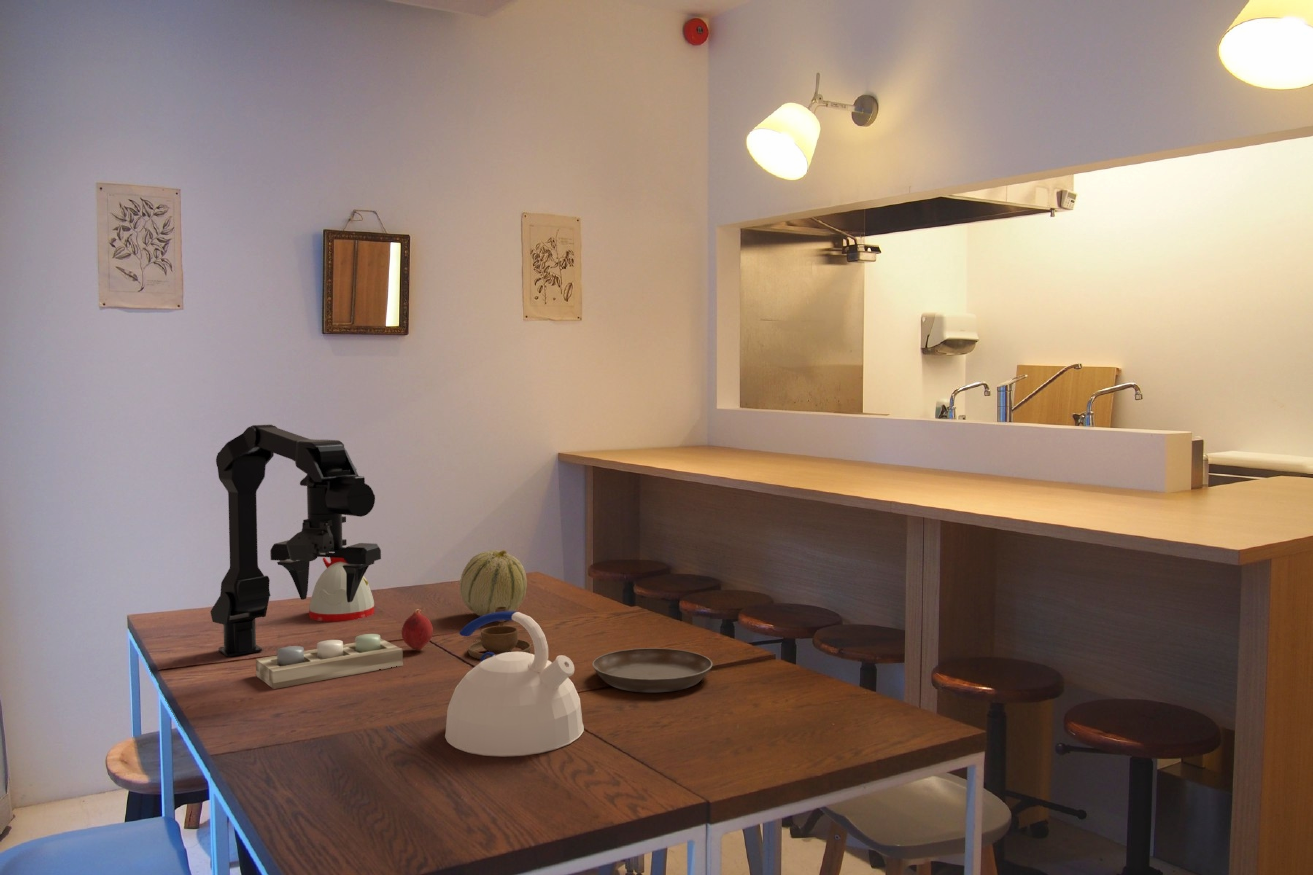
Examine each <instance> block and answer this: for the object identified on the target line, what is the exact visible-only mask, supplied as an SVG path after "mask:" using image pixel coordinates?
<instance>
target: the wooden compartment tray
mask: <svg viewBox="0 0 1313 875" xmlns="http://www.w3.org/2000/svg"><path fill="white" fill-rule="evenodd" d="M380 648H381V649H380V650H375V651H369V652H363V653H358V652H356V648H355V642H351V643H350V642H349V643H346V644H344V643H343V656H340V657H334V658H328V659H318V658H317V648H314V649H309V650H304V663H299V664H293V665H287V666H279V665H277V655H272V656H265V657H260V658H255V676H256V677H257V678H258V679H260V680H261V681H262V682H263V683H265V684H266V685H267V686H269V687H271V688H272V689H273V690H275V689H276V690H277V689H281V688H287V687H292V686H298V685H305V684H310V683H315V682H320V681H325V680H331V679H336V678H341V677H347V676H348V677H349V676H353V675H358V674H365V673H369V672H374V671H380V670H379V669H381V670H385V669H391V667H392V668H396V666H397V667H403V666H404V663H403V662H404V661H403V660H404V659H403V658H404V657H403V656H404V654H403V651H404V650H403V648H402V647H399V646H397V645H395V644H393V643H390V641H387V640H385V639H383V638H380Z"/></svg>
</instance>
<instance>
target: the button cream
mask: <svg viewBox="0 0 1313 875" xmlns="http://www.w3.org/2000/svg"><path fill="white" fill-rule="evenodd" d="M343 645H344V642H343V640H339V639H327V640H321V641H319V642H316V649H317V658H318V659H328V658H334V657H340V656H343Z"/></svg>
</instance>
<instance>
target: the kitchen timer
mask: <svg viewBox="0 0 1313 875" xmlns="http://www.w3.org/2000/svg"><path fill="white" fill-rule="evenodd" d="M329 553H332V552H329ZM329 560H330V562H329V561H328V560H327V559H326V557H322V561H323V563H324V565H325V567H326V568H325V569H324V570H323V571H322V573H321V574H320V576H319V577H318V579H317V581H316V583H315V584H314V589H313V591H312V594H311V598H310V602H309V608H308V610H309V611H308V613H309V615H308V616H309V617H308V618H310V619H311V620H313V619H314V621H318V622H319V621H320V622H345V621H346V622H347V621H353V620H354V619H355V620H359V619H358V618H361V619H364V617H365V618H368V617H370V616H369V615H371V616H373V615H374V614H375V600H374V597H373V593H372V590H371V588H370V584H369V582H368V581H367V578H366V577H365V575H364V576H363V578H362V580H361V582H360V584H359V587H358V589H357V592H356V594H355V596H354V599H353V601H352V602H347V595H346V572H345V570H344V568H343V565H346V564H348V563H347V562H346V561H345V560H344V558H333V557H329ZM373 613H374V614H373ZM367 616H368V617H367ZM355 620H354V621H355Z"/></svg>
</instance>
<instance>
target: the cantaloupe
mask: <svg viewBox="0 0 1313 875" xmlns="http://www.w3.org/2000/svg"><path fill="white" fill-rule="evenodd" d="M527 580H528V579H527V574H526V571H525V568H524V566H523V564H522V563H521V561H520V560H519V559H517V558H516V557H515V556H513V555H511V554H510V553H508V552H507V550H506V549H502V550H497V549H496V550H494V549H492V550H487V551H483V552H478V554H476V555H475V556H473V557H472V558H471V559H470V560H469V561H468V562H467V564H466V565H465V567H464V569H463V571H462V573H461V576H460V579H459V592H460V597H461V599H462V601H463V603H464V605H465V606H466V607H467V609H468V610H470V611H471V612H473V614H475V615H477V616H478V617H481V616H483V615H487V614H490V613H495V608H496V607H507V611H517V609H518V608H519V607H520V606H521V605H522V603H523V602H524V599H525V597H526V595H527V594H526V592H527V589H528V588H527V586H528V585H527V584H528V581H527Z"/></svg>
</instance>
